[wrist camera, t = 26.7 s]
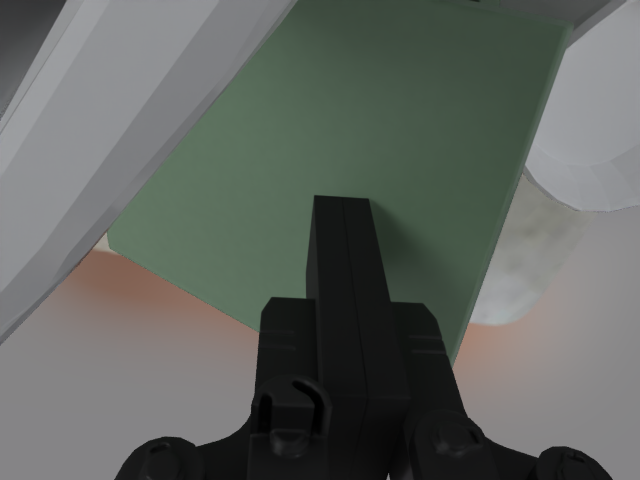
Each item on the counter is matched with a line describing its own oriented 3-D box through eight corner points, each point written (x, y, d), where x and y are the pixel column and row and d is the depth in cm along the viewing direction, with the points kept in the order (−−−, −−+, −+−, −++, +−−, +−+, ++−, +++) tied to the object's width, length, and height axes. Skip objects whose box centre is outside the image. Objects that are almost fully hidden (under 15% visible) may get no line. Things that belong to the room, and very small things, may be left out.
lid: (576, 21, 11) (568, 28, 10) (436, 412, 18) (427, 429, 17) (74, -83, 17) (52, -83, 16) (123, 240, 24) (108, 248, 23)
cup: (429, 109, 30) (476, 197, 22) (500, -92, 25) (597, -71, 17) (579, 140, 32) (673, 232, 24) (678, -44, 26) (845, -3, 18)
